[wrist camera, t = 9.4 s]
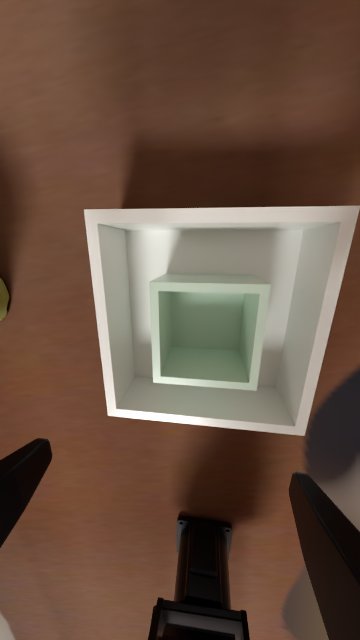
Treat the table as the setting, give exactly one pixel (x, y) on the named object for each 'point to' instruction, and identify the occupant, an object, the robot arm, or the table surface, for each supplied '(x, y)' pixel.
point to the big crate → (219, 258)
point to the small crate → (208, 329)
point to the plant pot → (3, 299)
